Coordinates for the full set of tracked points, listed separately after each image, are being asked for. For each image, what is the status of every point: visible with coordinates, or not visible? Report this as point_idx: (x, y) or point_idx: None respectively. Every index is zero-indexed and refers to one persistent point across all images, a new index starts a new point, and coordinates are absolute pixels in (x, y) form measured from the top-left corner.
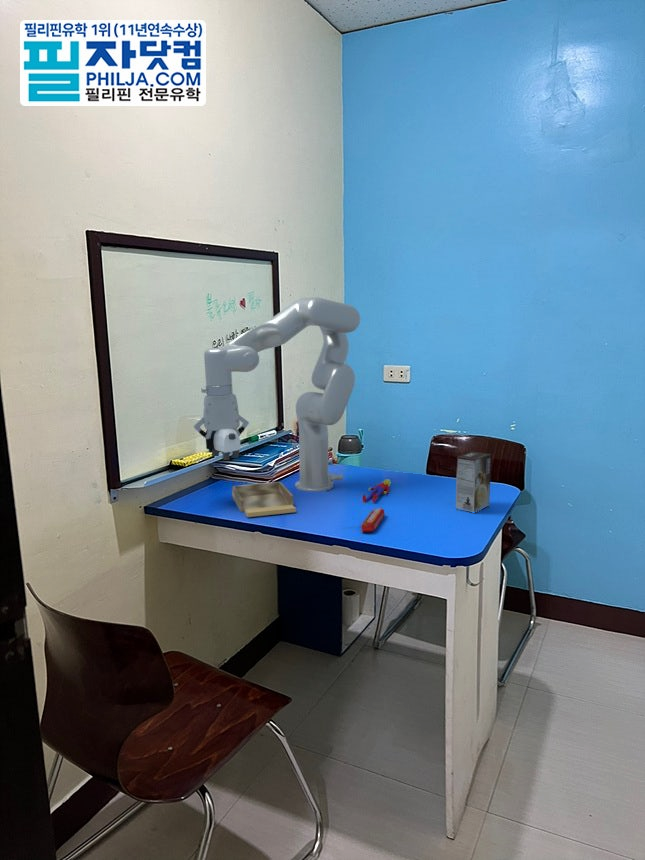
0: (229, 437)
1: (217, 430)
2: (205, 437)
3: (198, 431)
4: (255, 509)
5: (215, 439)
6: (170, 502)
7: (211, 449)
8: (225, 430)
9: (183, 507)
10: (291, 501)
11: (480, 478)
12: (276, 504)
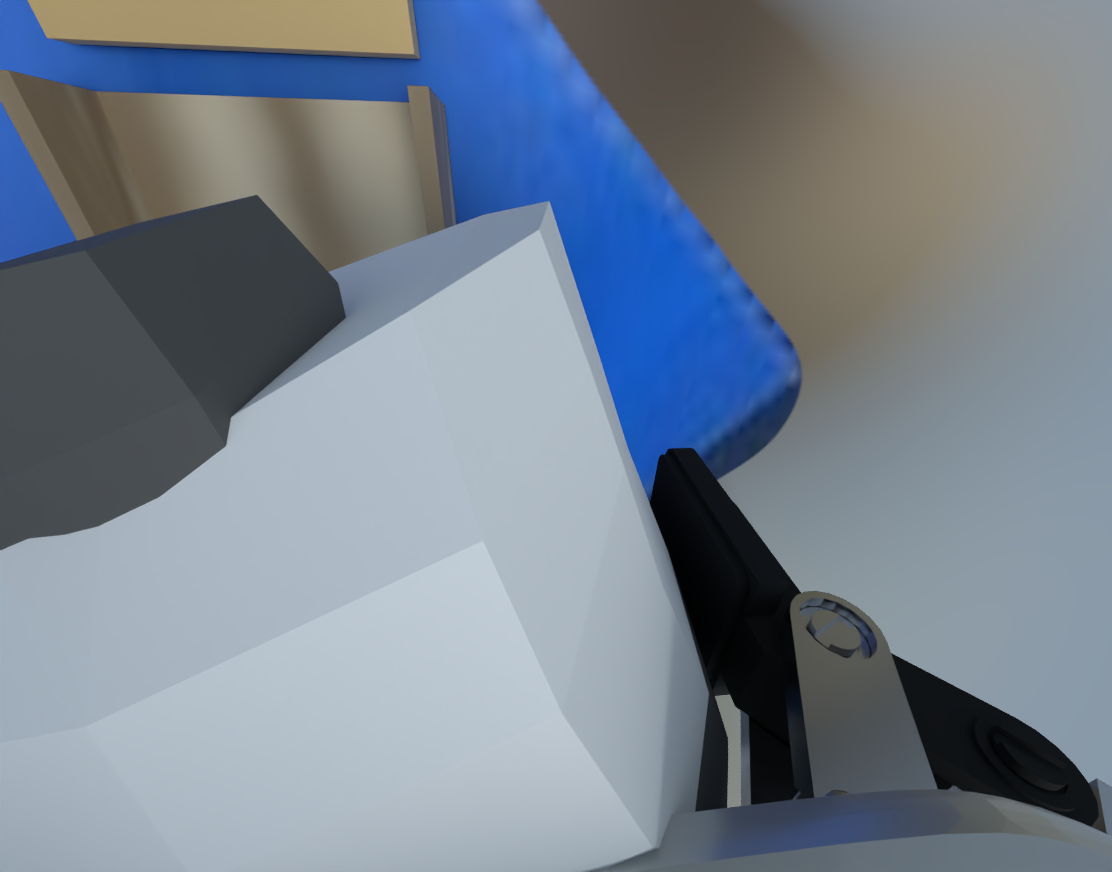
0: (277, 284)
1: (723, 811)
2: (871, 625)
3: (1105, 791)
4: (332, 5)
5: (669, 573)
6: (732, 424)
7: (679, 468)
8: (396, 766)
9: (706, 342)
10: (49, 80)
11: None
12: (217, 196)
